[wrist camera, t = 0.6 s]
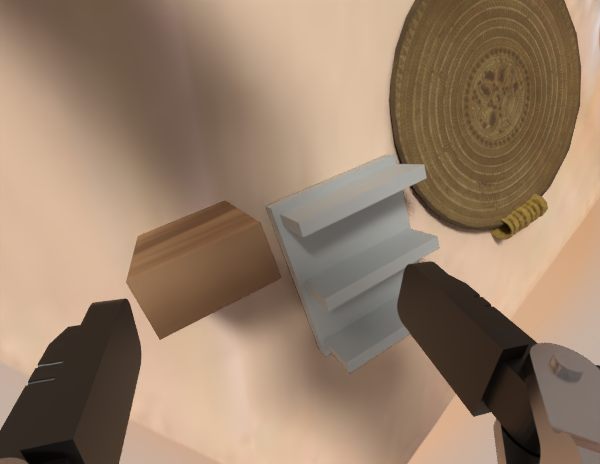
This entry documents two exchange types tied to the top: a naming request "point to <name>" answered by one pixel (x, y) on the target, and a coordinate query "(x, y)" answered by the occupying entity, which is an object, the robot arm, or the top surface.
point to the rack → (352, 255)
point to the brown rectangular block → (199, 266)
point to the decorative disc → (486, 106)
